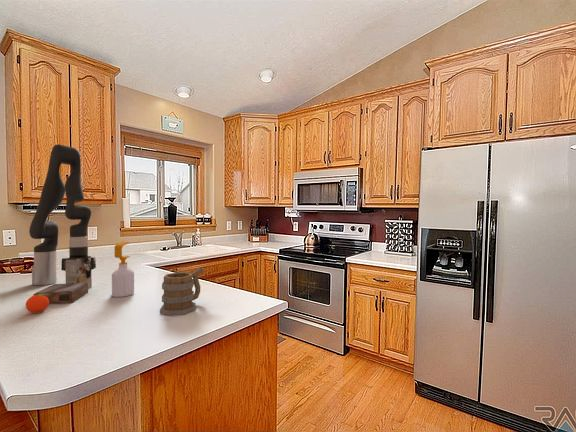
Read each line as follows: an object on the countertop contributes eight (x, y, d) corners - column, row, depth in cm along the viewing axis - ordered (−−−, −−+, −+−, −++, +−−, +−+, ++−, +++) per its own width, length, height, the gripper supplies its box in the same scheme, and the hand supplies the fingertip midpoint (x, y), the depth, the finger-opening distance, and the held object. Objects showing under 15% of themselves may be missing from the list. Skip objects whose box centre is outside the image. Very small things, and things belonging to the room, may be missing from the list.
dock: (31, 306, 120) (31, 293, 120) (53, 294, 136) (53, 283, 136) (71, 303, 123) (71, 291, 123) (88, 292, 140) (87, 282, 140)
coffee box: (80, 286, 151) (80, 255, 150) (92, 287, 150) (91, 255, 150) (64, 291, 142) (64, 258, 141) (76, 292, 141) (76, 258, 141)
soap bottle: (138, 292, 140) (138, 241, 140) (122, 298, 131) (122, 243, 131) (124, 291, 143) (124, 240, 143) (107, 296, 134) (107, 242, 134)
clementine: (50, 307, 118) (50, 290, 118) (54, 311, 114) (54, 293, 114) (23, 312, 112) (23, 294, 112) (27, 317, 108) (27, 297, 108)
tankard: (174, 318, 108) (174, 277, 107) (154, 311, 114) (154, 273, 114) (215, 303, 125) (215, 268, 124) (195, 298, 131) (195, 265, 131)
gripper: (58, 247, 140) (58, 281, 140) (92, 246, 144) (92, 279, 144) (65, 245, 147) (66, 277, 148) (97, 244, 151) (98, 276, 151)
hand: (79, 278), depth 146 cm, fingers closed on coffee box, 8 cm apart
